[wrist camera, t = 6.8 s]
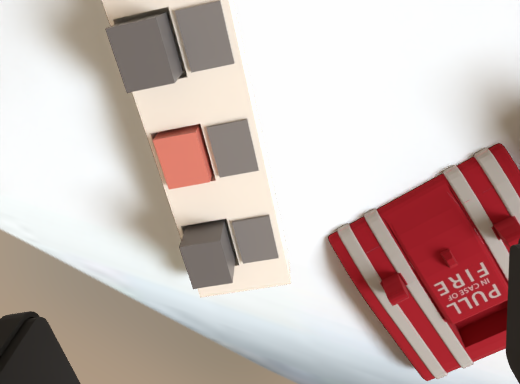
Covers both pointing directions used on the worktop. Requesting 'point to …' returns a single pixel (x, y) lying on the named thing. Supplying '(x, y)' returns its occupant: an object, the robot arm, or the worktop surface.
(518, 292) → the robot arm
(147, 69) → the button
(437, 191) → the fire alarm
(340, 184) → the worktop surface
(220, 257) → the button
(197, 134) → the button
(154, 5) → the button panel
